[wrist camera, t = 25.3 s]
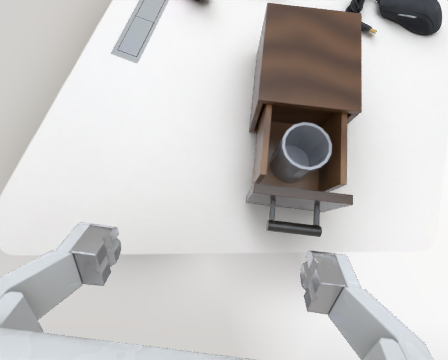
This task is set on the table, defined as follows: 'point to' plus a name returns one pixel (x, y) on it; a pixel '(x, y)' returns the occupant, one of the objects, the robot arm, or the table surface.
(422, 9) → the computer mouse
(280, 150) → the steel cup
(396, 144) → the table surface
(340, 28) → the cabinet
